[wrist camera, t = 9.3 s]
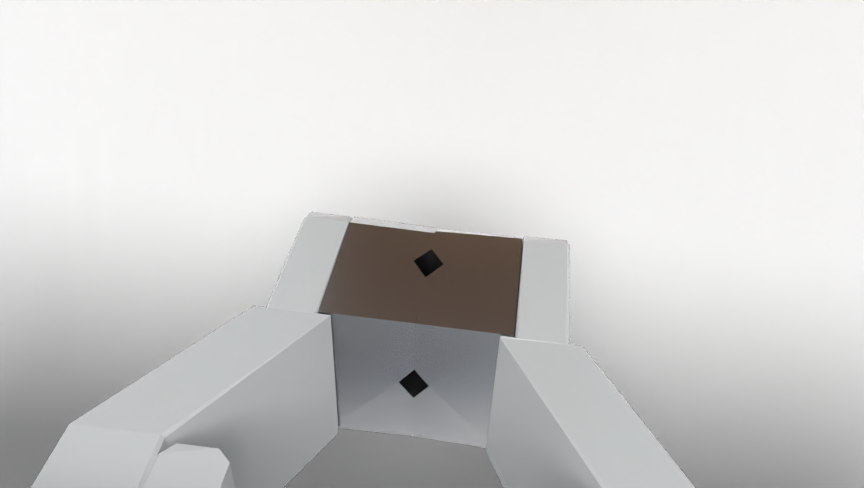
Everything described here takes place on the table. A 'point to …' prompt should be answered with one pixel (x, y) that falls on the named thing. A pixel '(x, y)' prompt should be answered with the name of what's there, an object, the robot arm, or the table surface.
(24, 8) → the table surface
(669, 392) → the table surface
